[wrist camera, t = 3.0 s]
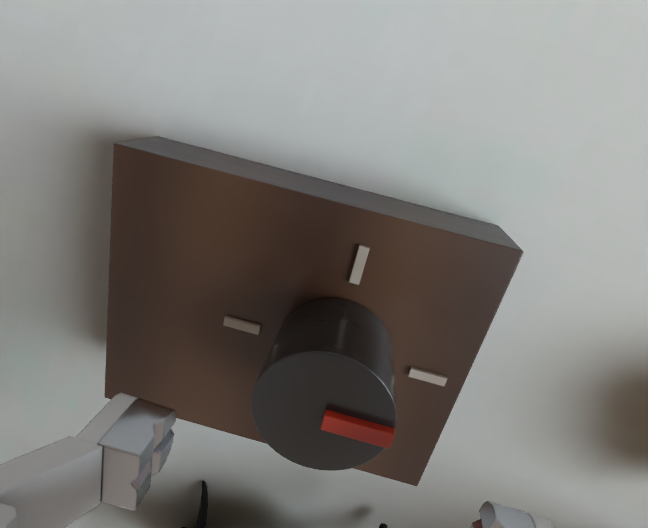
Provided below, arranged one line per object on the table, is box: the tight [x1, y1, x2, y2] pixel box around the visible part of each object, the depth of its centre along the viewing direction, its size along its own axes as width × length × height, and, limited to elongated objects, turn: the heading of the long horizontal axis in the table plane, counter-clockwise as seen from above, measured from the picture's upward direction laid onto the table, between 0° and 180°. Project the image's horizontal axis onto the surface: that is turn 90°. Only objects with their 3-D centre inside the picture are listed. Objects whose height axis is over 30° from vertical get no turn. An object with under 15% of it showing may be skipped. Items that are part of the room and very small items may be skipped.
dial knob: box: [251, 298, 397, 470], centre depth 14 cm, size 4×4×4 cm
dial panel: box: [105, 137, 523, 486], centre depth 17 cm, size 14×11×3 cm
